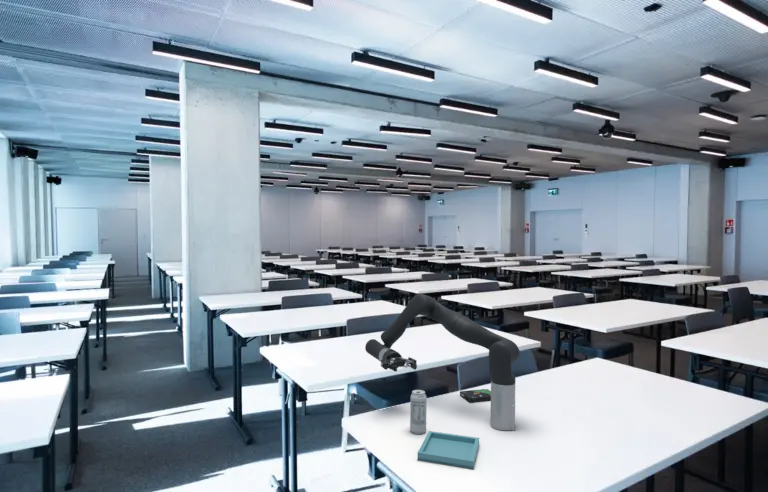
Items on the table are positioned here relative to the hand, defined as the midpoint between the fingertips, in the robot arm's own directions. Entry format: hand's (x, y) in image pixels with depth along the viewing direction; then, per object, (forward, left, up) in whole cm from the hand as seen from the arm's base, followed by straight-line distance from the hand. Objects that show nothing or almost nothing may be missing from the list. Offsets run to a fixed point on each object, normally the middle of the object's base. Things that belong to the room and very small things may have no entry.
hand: (406, 368), depth 179 cm
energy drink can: (-7, +9, -21) cm, 24 cm away
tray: (-21, +22, -21) cm, 37 cm away
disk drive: (-25, -37, -22) cm, 50 cm away
